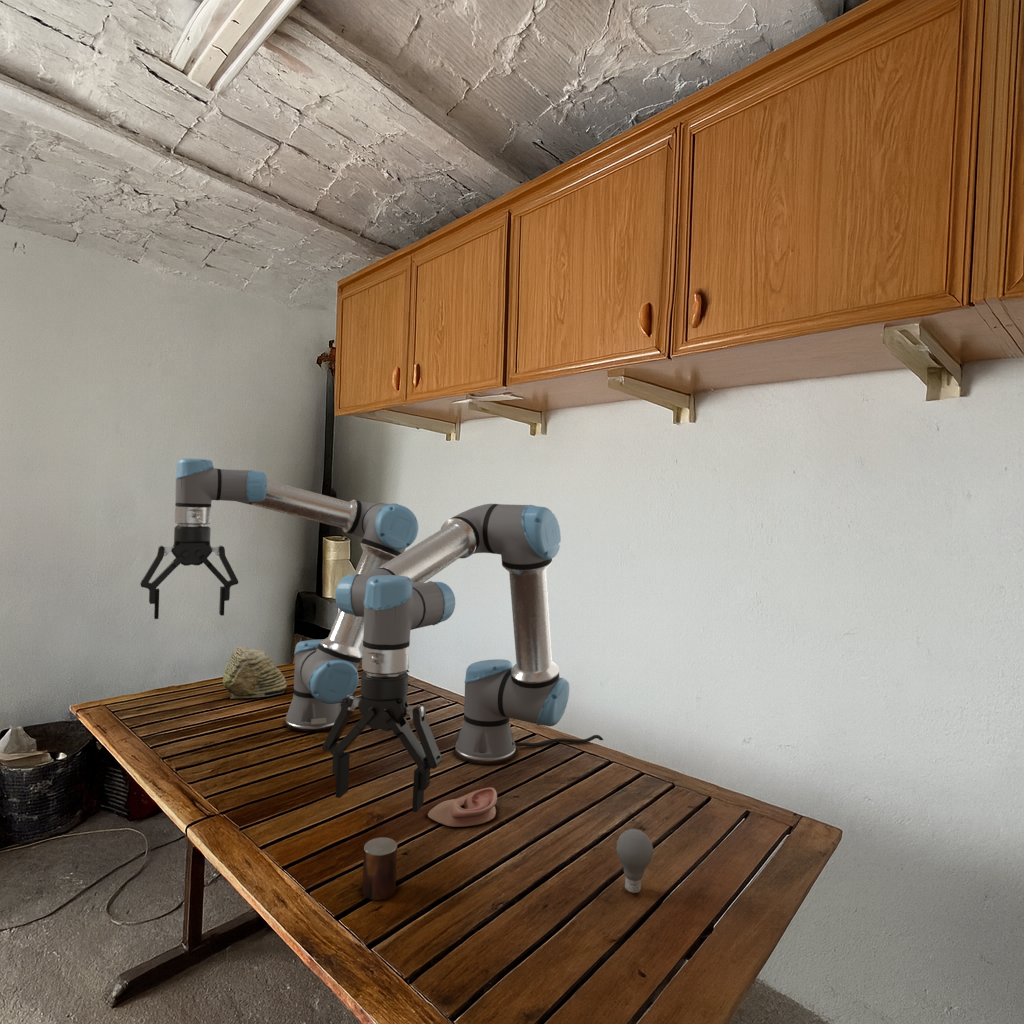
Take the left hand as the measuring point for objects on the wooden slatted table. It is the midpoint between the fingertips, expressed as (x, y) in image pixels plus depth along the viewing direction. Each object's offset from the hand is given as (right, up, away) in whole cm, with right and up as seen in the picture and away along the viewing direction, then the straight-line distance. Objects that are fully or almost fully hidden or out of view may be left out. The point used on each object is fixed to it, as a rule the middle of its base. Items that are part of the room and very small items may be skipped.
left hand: (189, 616), depth 147 cm
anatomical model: (+65, -37, -19) cm, 77 cm away
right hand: (+53, -23, -44) cm, 73 cm away
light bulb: (+95, -39, -42) cm, 111 cm away
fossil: (-5, -33, +51) cm, 61 cm away
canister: (+53, -37, -44) cm, 79 cm away
